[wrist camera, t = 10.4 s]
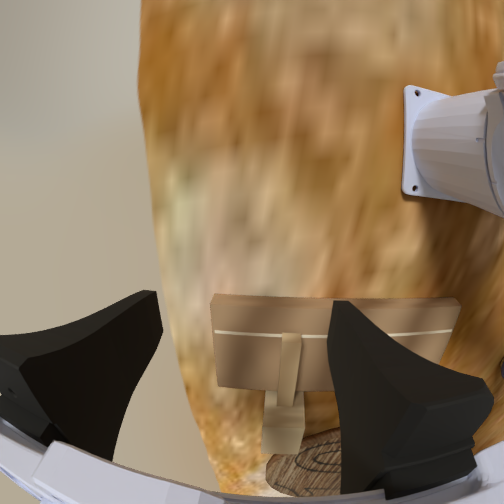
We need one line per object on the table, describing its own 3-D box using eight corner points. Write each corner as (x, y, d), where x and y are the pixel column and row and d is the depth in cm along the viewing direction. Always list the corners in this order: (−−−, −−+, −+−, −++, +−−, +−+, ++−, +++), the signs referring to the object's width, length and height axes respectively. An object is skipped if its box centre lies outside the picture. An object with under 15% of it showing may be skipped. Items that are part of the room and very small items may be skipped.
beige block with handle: (312, 319, 22) (319, 365, 17) (296, 417, 27) (296, 458, 22) (269, 318, 23) (265, 364, 17) (264, 416, 27) (260, 457, 22)
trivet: (385, 484, 35) (387, 492, 33) (256, 488, 37) (255, 496, 35) (458, 408, 26) (462, 417, 24) (282, 415, 28) (281, 429, 26)
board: (453, 297, 20) (462, 306, 19) (424, 371, 24) (430, 382, 22) (214, 293, 22) (209, 304, 21) (221, 374, 25) (217, 386, 24)
